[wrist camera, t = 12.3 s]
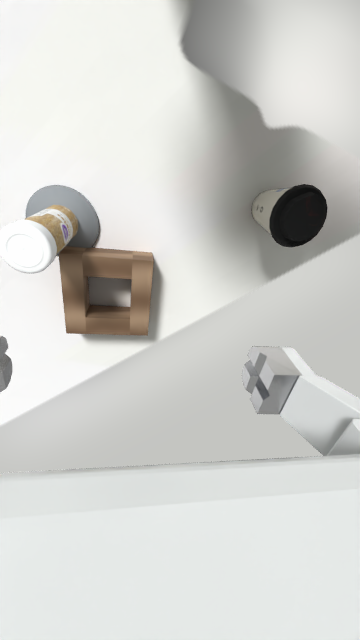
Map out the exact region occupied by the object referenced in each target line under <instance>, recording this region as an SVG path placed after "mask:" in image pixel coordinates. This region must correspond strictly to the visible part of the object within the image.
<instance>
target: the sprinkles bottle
mask: <svg viewBox="0 0 360 640" xmlns="http://www.w3.org/2000/svg"><path fill="white" fill-rule="evenodd" d="M77 231H78V220H77V218H76V216H75V215H74V214H73V212H72V211H71V210H70V209H68V208H66V207H64V206H61V205H52V206H50V207H48V208H46V209H45V210H42V211H40V212H38V213H36V214H34V215H32V216H30V217H27V218H26V219H24V220H18V221H15V222H13V223H11V224H9V225H7V226H5V227H4V228H3V229H2V230H1V231H0V255H1V257H2V258H3V260H4V261H5V262H6V263H7V264H8V265H9V266H11V267H12V268H14V269H16V270H18V271H20V272H24V273H38V272H41V271H43V270H45V269H46V268H47V267H48V266H49V265H50V264H51V263H52V262H53V261H54V259H55V257H56V255H57V253H58V252H59V251H60V250H62V249H63V248H64V247H65V246H66V245H67V244H68V242H69V241H70V240H71V239H72V238H73V237H74V236H75V235H76V234H77Z"/></svg>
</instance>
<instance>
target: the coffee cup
mask: <svg viewBox="0 0 360 640" xmlns="http://www.w3.org/2000/svg"><path fill="white" fill-rule="evenodd" d="M326 215H327V204H326V199H325V198H324V196H323V194H322V193H321V191H320V190H319V189H317V188H316V187H314V186H312V185H306V184H303V185H298V186H294V187H293V188H284V189H275V190H268V191H264V192H262V193H260V194H259V195H258V196H257V197H256V198H255V200H254V202H253V205H252V216H253V218H254V219H255V221H256V222H257V223H258V224H259V225H261V226H262V227H263V228H264V229H265V230H266V231H267V232H268V233H270V234H271V235H272V237H273V238H274V240H275V241H276V242H277V243H278V244H280V245H282V246H285V247H295V246H300V245H303V244H305V243H307V242H309V241H310V240H312V239H313V238H314V237H315V236H316V235H317V234H318V233H319V231H320V230H321V228H322V227H323V224H324V222H325V219H326Z"/></svg>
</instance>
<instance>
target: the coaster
mask: <svg viewBox="0 0 360 640" xmlns="http://www.w3.org/2000/svg"><path fill="white" fill-rule="evenodd" d="M52 205H61V206H64V207H66V208H68V209H70V210H71V211H72V212H73V214H74V215H75V216H76V218H77V220H78V231H77V234H76V235H75V236H74V237H73V238H72V239H71V240H70V241H69V242H68V244H67V245H66V246H70V247H81V248H91V247H92V246H93V245H94V243H95V241H96V239H97V236H98V232H99V222H98V217H97V214H96V212H95V210H94V208H93V206H92V205H91V203H90V202H89V201H88V200H87V199H86V198H85V197H84V196H83V195H82V194H81V193H79V192H77V191H76V190H74V189H72V188H69V187H66V186H61V185H52V186H47V187H44V188H41V189H40V190H38V191H37V192H35V193H34V194H33V195H32V197H31V198H30V200H29V202H28V204H27V208H26V218H27V217H30V216H32V215H34V214H36V213H38V212H40V211H42V210H45V209H46V208H48V207H50V206H52ZM60 251H61V250H60ZM60 251H59V252H58V253H57V255H59V253H60Z"/></svg>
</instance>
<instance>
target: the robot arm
mask: <svg viewBox="0 0 360 640" xmlns="http://www.w3.org/2000/svg"><path fill="white" fill-rule="evenodd" d="M7 349H8V344H7V340H6V338H4V337H3V336H0V392H1V391H3V390H5V389H6V388H7V386H8V384H9V382H10V379H11V375H12V362H11V358H9V357H8V356H7V355H6V354H5V352H6V350H7ZM248 357H249V359H250V360H249V361H248V362H247V363H246V364H245V365H244V367H243V371H242V380H243V385H244V387H245V389H246V390H247V391H248V392H250V393H251V394H252V395H251V398H250V400H251V402H252V404H253V406H254V408H255V410H256V412H257V414H280V416H281V417H282V418H283V419H284V420H285V421H286V422H287V423H288V424H289V425H291V426H292V427H293V428H294V429H295V430H296V431H297V432H298V433H299V434H300V435H302V436H303V437H304V438H305V439H306V440H307V441H308V442H309V443H310V444H311V445H312V446H313V447H315V448H316V449H317V450H318V451H319V452H320V453H321V454H322V455H323V456H314V457H295V458H275V459H257V460H239V461H220V462H201V463H182V464H164V465H144V466H126V467H105V468H86V469H69V470H68V469H67V470H48V471H29V472H13V473H12V472H10V473H0V640H360V398H358V397H357V396H355V395H353V394H351V393H350V392H348V391H346V390H344V389H342V388H341V387H339V386H337V385H336V384H334V383H332V382H330V381H328V380H327V379H325V378H323V377H321V376H316V374H315V373H314V372H313V371H312V370H311V368H310V367H309V366H308V365H307V364H306V363H305V361H304V360H303V359H302V358H301V356H300V355H299V354H298V353H297V352H296V350H295V349H294V348H292V347H260V346H252V347H251V349H250V350H249V353H248Z"/></svg>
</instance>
